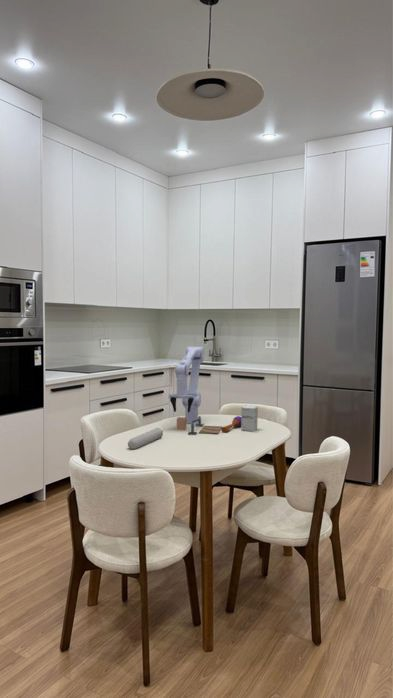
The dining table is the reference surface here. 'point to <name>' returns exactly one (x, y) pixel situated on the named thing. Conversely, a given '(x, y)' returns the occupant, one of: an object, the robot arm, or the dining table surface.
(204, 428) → the walnut board
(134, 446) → the tube
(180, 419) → the block
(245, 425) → the supplement box
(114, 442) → the dining table surface
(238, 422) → the kendama
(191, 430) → the grey door handle
